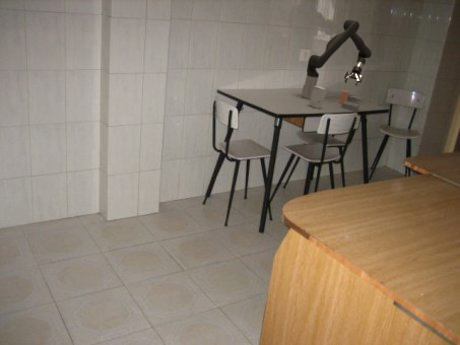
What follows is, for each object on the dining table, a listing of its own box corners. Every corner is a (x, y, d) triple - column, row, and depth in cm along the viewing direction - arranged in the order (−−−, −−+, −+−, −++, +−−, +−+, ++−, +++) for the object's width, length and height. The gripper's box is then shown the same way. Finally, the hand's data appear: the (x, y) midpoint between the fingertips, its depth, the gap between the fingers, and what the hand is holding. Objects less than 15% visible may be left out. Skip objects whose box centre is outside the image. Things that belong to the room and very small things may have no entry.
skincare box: (308, 105, 346) (313, 85, 340) (312, 104, 350) (317, 85, 345) (318, 108, 341) (323, 88, 336) (322, 108, 346) (327, 88, 340)
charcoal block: (354, 111, 355) (356, 106, 354) (341, 108, 359) (342, 103, 358) (358, 109, 364) (359, 104, 363) (344, 106, 369) (346, 101, 367)
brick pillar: (344, 104, 372) (347, 92, 368) (338, 103, 373) (341, 90, 370) (345, 103, 375) (348, 91, 372) (340, 102, 377) (343, 90, 374)
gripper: (349, 63, 384) (342, 78, 378) (366, 67, 378) (359, 83, 373) (349, 69, 390) (342, 84, 385) (366, 73, 385) (359, 88, 379)
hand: (350, 83), depth 379 cm, fingers open, 8 cm apart
